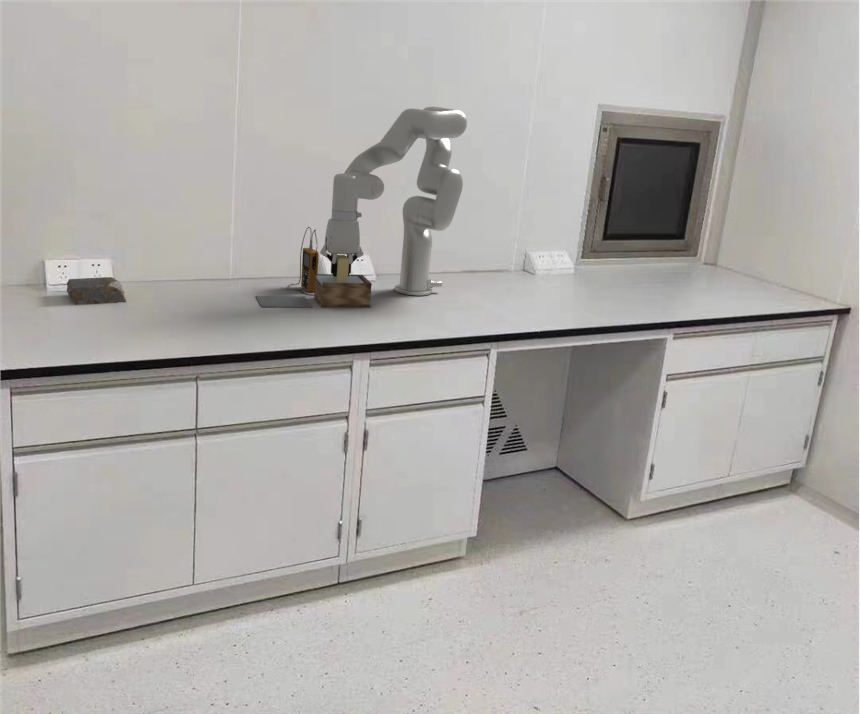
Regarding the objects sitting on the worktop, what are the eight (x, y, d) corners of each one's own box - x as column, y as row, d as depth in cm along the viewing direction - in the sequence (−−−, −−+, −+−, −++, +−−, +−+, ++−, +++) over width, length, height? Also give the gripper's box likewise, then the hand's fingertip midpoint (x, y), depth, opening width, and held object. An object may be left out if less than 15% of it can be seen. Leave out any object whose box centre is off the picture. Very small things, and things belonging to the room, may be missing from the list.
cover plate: (357, 279, 270) (358, 254, 268) (364, 286, 262) (366, 260, 259) (316, 278, 266) (317, 253, 263) (322, 285, 257) (323, 259, 255)
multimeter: (275, 285, 279) (278, 223, 273) (305, 284, 284) (308, 224, 278) (290, 296, 267) (293, 232, 261) (321, 295, 272) (324, 232, 266)
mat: (304, 297, 268) (304, 296, 268) (312, 307, 257) (312, 306, 257) (255, 296, 263) (255, 295, 263) (261, 307, 252) (261, 306, 252)
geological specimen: (63, 278, 244) (118, 274, 251) (65, 299, 245) (119, 294, 253) (69, 287, 235) (126, 282, 242) (71, 308, 237) (128, 303, 244)
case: (360, 298, 273) (362, 274, 271) (369, 307, 263) (371, 283, 261) (314, 297, 268) (315, 273, 266) (321, 307, 258) (323, 282, 256)
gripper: (367, 214, 264) (363, 273, 269) (314, 212, 258) (311, 272, 264) (373, 219, 257) (369, 279, 262) (319, 217, 251) (316, 278, 257)
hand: (340, 275), depth 263 cm, fingers closed on cover plate, 3 cm apart
